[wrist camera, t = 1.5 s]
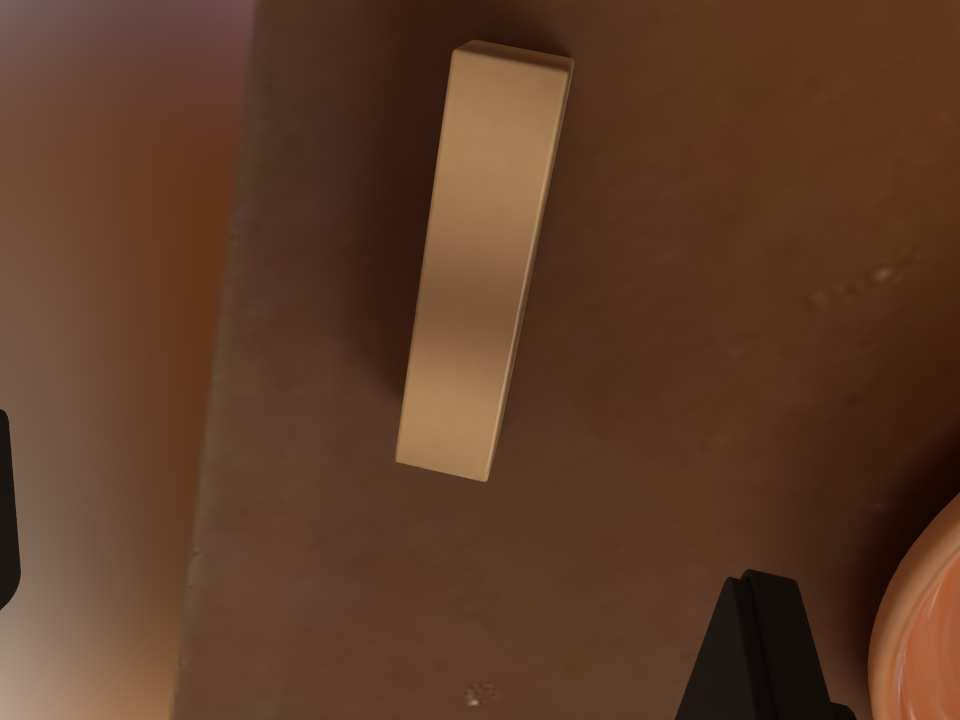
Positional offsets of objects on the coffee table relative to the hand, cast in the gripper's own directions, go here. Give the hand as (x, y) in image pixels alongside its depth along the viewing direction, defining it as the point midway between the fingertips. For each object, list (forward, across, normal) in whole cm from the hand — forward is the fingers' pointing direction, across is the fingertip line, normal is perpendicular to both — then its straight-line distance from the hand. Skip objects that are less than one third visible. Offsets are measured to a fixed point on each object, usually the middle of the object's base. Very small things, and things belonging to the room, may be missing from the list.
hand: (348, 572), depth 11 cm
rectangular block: (+12, 0, 0) cm, 12 cm away
